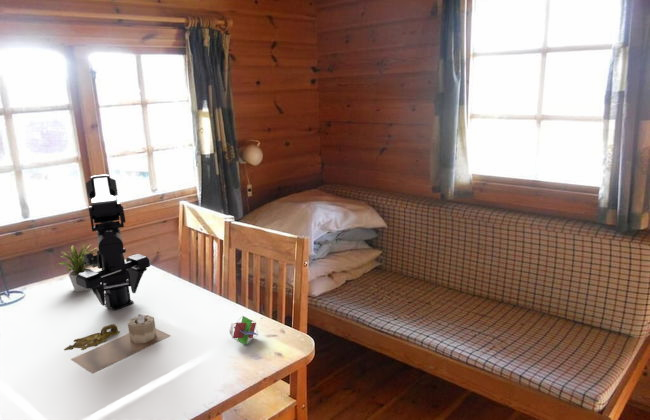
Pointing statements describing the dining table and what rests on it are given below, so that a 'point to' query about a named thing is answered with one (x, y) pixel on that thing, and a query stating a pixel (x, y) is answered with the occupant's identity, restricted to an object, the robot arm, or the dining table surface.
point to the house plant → (77, 265)
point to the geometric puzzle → (243, 330)
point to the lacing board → (114, 352)
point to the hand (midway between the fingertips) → (118, 298)
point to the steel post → (140, 319)
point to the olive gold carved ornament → (94, 338)
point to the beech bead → (142, 330)
